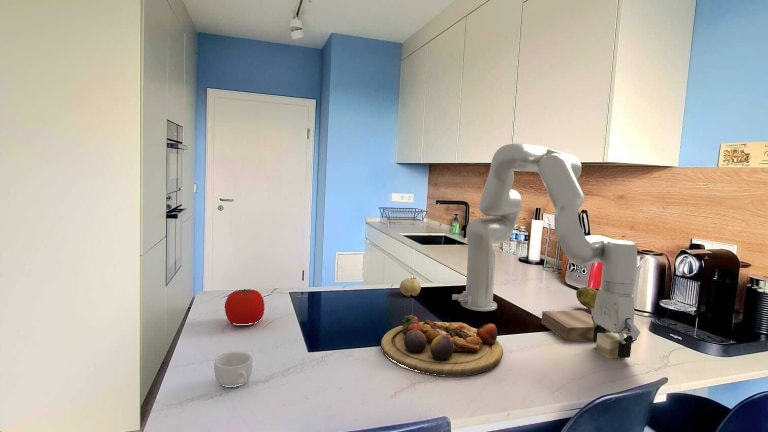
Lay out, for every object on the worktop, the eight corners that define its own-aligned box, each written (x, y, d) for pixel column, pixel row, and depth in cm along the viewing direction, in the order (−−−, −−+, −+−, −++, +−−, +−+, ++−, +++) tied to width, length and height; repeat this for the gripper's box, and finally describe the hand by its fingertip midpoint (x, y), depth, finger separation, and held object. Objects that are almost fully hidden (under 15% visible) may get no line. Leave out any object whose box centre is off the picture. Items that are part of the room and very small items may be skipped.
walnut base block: (566, 341, 120) (567, 327, 120) (541, 323, 134) (542, 311, 134) (610, 339, 123) (612, 326, 122) (581, 322, 136) (582, 310, 136)
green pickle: (606, 319, 141) (608, 295, 140) (571, 307, 151) (573, 286, 150) (619, 315, 145) (621, 292, 144) (584, 304, 156) (586, 283, 155)
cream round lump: (416, 299, 155) (417, 280, 154) (396, 296, 158) (397, 278, 157) (422, 293, 162) (423, 275, 162) (403, 291, 165) (403, 273, 164)
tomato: (261, 315, 133) (261, 282, 131) (268, 328, 122) (268, 293, 120) (222, 319, 128) (222, 285, 127) (226, 334, 117) (226, 297, 116)
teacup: (208, 381, 91) (208, 357, 90) (243, 371, 96) (243, 348, 96) (227, 401, 84) (227, 375, 83) (263, 388, 89) (263, 364, 88)
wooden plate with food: (499, 334, 124) (500, 307, 124) (507, 386, 93) (509, 350, 93) (393, 324, 131) (393, 298, 130) (368, 370, 100) (368, 336, 99)
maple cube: (608, 358, 110) (609, 340, 109) (595, 350, 115) (597, 333, 114) (625, 358, 111) (627, 339, 110) (612, 350, 116) (614, 332, 115)
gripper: (583, 278, 119) (578, 336, 120) (627, 297, 102) (621, 364, 104) (607, 278, 120) (601, 336, 122) (655, 296, 103) (648, 363, 105)
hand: (610, 349), depth 113 cm, fingers open, 9 cm apart
